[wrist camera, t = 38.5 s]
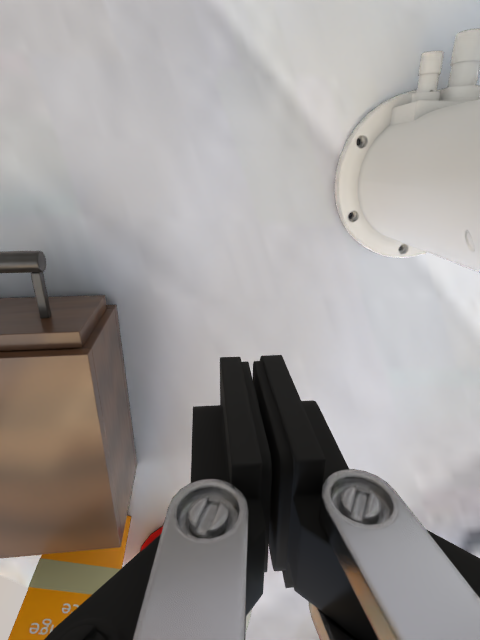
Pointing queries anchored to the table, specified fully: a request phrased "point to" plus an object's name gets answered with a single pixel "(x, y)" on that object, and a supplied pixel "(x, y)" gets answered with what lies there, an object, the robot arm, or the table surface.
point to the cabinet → (65, 446)
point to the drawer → (44, 311)
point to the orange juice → (64, 587)
